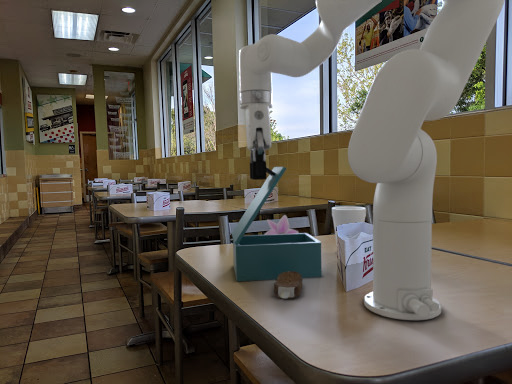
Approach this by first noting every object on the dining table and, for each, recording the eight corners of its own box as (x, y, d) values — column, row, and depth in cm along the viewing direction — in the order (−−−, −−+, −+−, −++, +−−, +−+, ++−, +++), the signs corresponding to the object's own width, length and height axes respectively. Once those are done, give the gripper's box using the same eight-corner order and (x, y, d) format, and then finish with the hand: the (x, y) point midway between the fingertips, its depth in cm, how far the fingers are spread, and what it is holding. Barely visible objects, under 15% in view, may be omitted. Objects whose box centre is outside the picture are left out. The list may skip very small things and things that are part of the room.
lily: (256, 255, 112) (266, 229, 108) (257, 234, 123) (266, 209, 118) (294, 266, 113) (306, 241, 109) (292, 244, 124) (302, 220, 120)
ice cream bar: (304, 282, 82) (303, 269, 82) (298, 307, 67) (298, 292, 67) (279, 281, 83) (279, 269, 83) (269, 306, 68) (268, 291, 68)
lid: (276, 168, 96) (258, 156, 95) (286, 168, 83) (265, 154, 83) (234, 235, 96) (215, 223, 95) (237, 245, 83) (215, 231, 82)
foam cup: (326, 251, 112) (326, 207, 111) (353, 248, 114) (353, 205, 114) (343, 258, 103) (343, 210, 102) (372, 255, 105) (372, 208, 105)
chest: (307, 262, 98) (307, 232, 98) (321, 276, 86) (321, 242, 85) (233, 266, 96) (232, 236, 96) (236, 281, 84) (235, 246, 83)
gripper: (278, 94, 80) (279, 179, 81) (267, 107, 97) (268, 178, 98) (242, 94, 79) (244, 180, 80) (238, 107, 96) (239, 178, 97)
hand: (258, 178), depth 89 cm, fingers closed on lid, 5 cm apart
